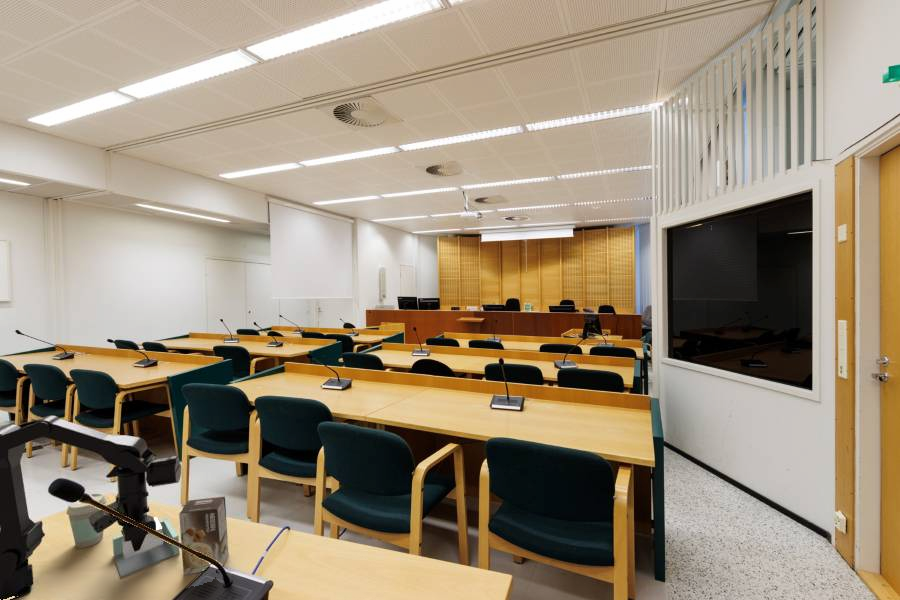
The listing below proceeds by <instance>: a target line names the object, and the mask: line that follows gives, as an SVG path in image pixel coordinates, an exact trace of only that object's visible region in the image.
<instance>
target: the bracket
mask: <svg viewBox="0 0 900 600" xmlns="http://www.w3.org/2000/svg"><path fill="white" fill-rule="evenodd" d="M153 518H154V520H155V521H156V531H157V532H160V533H162V527H161V525H160V523H159V521H160V520H159V519H158V518H157V516H153ZM122 541H123V555H124V558H125V559H126V558H129V557H131V556H134V555H136V554H139V553H141V552H144V551H146V550H149V549H151V548H154V547H157V546H159V545H162V544H163V540H162V539H160V538H158V537H156V536H154V535H152V534H150V533H149V534H147V535H146V537H145V539H144V541H143V544H142V546H141V548H140V550H138V551H136V552H135V551H134V549H133V546H132V543H131V541H125V540H124V538H122Z"/></svg>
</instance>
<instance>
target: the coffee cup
mask: <svg viewBox="0 0 900 600" xmlns="http://www.w3.org/2000/svg"><path fill="white" fill-rule="evenodd" d="M90 495H92V496H93V497H94V498H95V499H96V500H97V501H99V502H100V503H102V504H105V506H107V505H106V504H107V502H108V501H107V498H106V497H105V494H104V493H99V492H98V493H97V492H96V493H90ZM97 511H99V509H97V508H95V507H93V506H90V505H86V504H70V503H69V504H68V507H67V508H66V515H67V516H68V519H69V523H70V527H71V532H72V536H73V539H74V544H75V548H80V549H82V548H87V547H91V546H93V545H95V544H97V543H99V542H100V541H102V540H103V538H104V531H105V530H103V531H102V532H100V533H96V531H95V530H94V528H93V527H92V525H91V524H90V521H89V517H90V516H91V515H92V514H94V513H95V512H97Z"/></svg>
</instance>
